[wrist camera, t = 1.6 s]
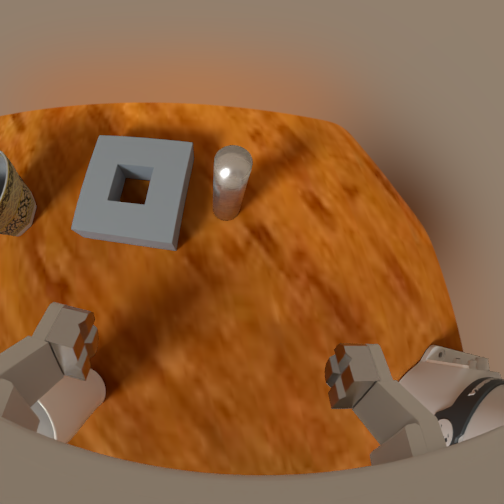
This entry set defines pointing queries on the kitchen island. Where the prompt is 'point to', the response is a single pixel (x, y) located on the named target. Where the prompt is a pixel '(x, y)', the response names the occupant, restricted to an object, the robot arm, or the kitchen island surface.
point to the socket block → (129, 214)
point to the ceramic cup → (14, 200)
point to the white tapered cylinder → (69, 406)
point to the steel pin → (230, 180)
